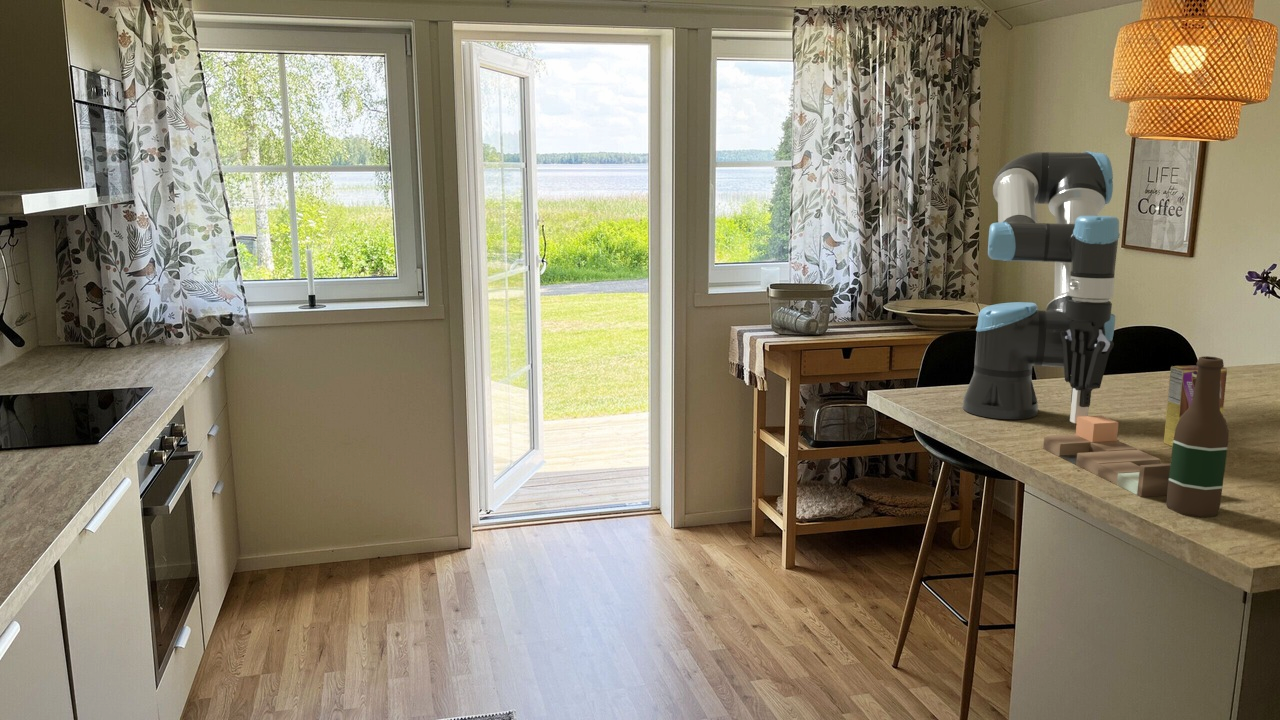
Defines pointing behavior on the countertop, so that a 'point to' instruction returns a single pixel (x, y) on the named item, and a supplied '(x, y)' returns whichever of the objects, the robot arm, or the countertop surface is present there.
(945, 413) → the countertop surface
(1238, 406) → the countertop surface
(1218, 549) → the countertop surface
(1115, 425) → the block
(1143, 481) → the board
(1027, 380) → the robot arm
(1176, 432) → the beer bottle
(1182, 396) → the candy box
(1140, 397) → the countertop surface
